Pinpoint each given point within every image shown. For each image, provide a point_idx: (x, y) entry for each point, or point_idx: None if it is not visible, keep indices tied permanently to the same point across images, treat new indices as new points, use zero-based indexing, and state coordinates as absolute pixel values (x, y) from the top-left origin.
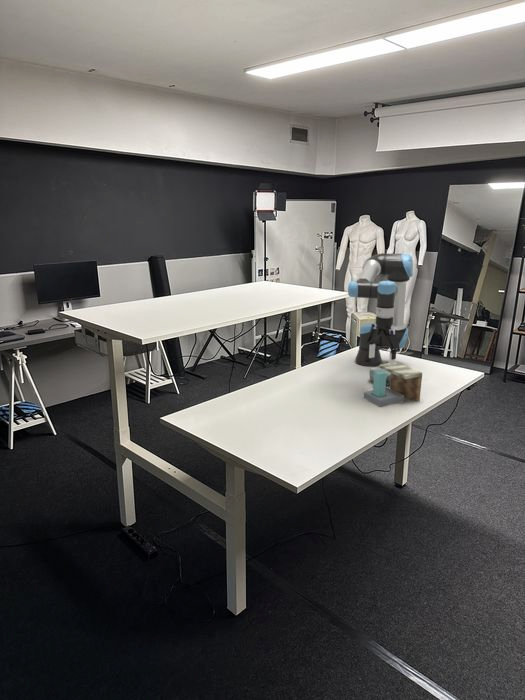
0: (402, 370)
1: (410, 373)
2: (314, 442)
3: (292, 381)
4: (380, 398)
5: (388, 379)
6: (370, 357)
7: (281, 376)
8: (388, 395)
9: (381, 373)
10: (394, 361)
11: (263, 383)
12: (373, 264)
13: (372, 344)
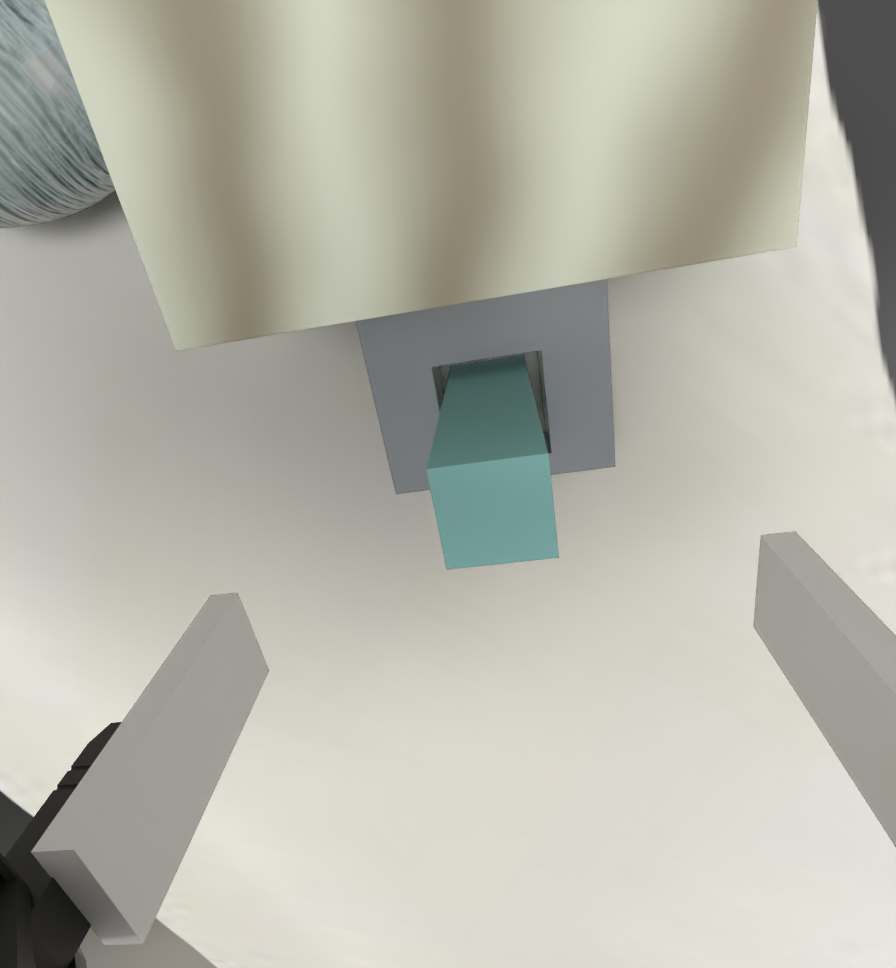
0: (531, 119)
1: (737, 63)
2: (806, 895)
3: (37, 728)
4: (572, 443)
5: None
6: (261, 668)
7: None
8: (539, 336)
9: (532, 520)
10: (844, 589)
11: None
12: None
13: (114, 909)
